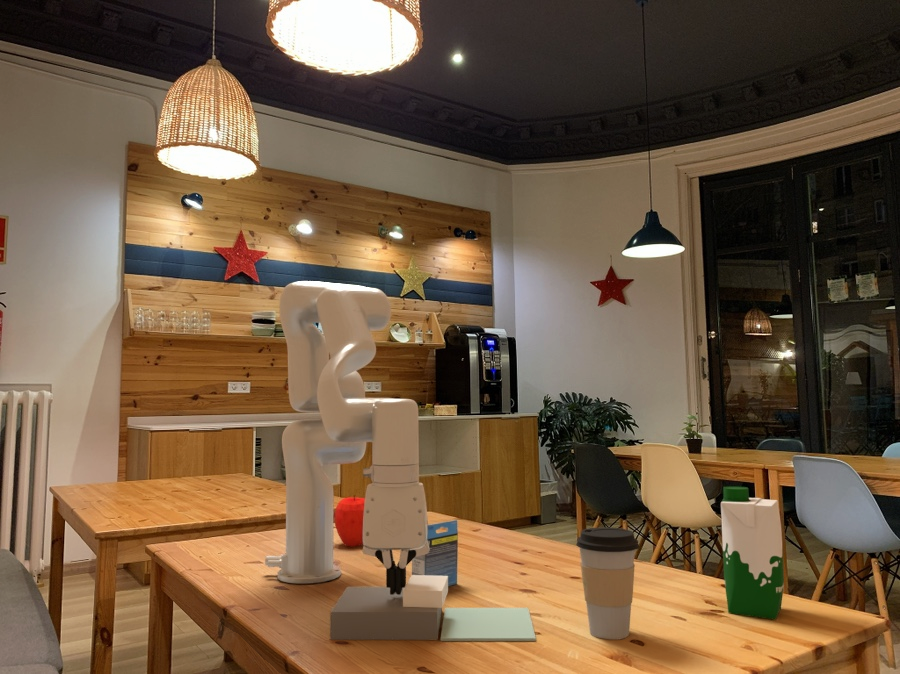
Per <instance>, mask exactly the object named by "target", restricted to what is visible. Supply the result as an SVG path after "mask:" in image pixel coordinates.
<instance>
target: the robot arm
mask: <svg viewBox="0 0 900 674" xmlns="http://www.w3.org/2000/svg"><path fill="white" fill-rule="evenodd" d="M278 304H279V305H278V307H279V318H280V324H281V328H282V331H283V334H284V337H285V341H286V347H287V377H288V379H287V382H288V399H289V404H290V406H291V408H292V409H293V410H294V411H296V412H300V413H313V414H314V413H318V414H320V417H321V418H308V419H299V420H296V421H293V422H291V423H289V424H288V425H287V426H286V427H285V428H284V430H283V432H282V436H281V447H282V455H283V459H284V460H283V462H284V467H285V468H284V469H285V491H286V492H285V496H286V497H285V502H286V503H285V552H284V553H281V554H280V555H266V556H265V559H264V564H265V566H267V568H268V567H269V568H276V567H279V569H280V570H278V571H277V580H279V581H280V582H284V583H287V584H288V583H289V584H301V585H302V584H307V585H308V584H318V583H324V582H328V581H332V580H335V579H337V578H339V577H340V576H341V575H342V568H341V567H340V566H338V565H335V564H334V516H335V509H334V502H335V501H334V500H335V499H334V496H335V495H334V487H333V483H332V480H331V479H330V477H329V476H328V475H327V474H326V472H325V470H324V469H323V466H333V465H345V464H354V463H357V462H359V461H361V460H362V459H363V458H364V455H365V453H366V449H367V443H372V444H371V445H372V446H371V447H372V449H371V451H372V455H371V461H372V464H371V465H370V467H368V468H366V467H365V468H363V471H362V472H363V473H362V475H363V477H366V478H370V480H371V482H372V483H369V484H367V485H366V491H365V494H364V495H365V496H364V498H365V503H364V516H363V544H362V545H363V547H362V551H361V552H362V554H363V555H366V556H370V557H375V558H377V560H378V561H379V562H380V563H381V564H382V565H383V567H384V568H385V569H386V570H385V574H386V580H385V584H386V586H385V587H387V588H390V595H394V594H395V592H396V594H397V595H400V594H401V592H402V588H405V586H406V584H407V566H408V565H409V564H410V563H412V559H413V558H414V557H417V556H421V555H425V554H428V553H429V550H430V548H429V544H428V540H427V537H428V525H429V523H428V511H427V500H426V499H427V498H426V493H425V487H424V483H422V482H420V467H419V466H420V462H419V461H420V459H419V458H420V456H419V455H420V453H419V452H420V451H419V447H420V446H419V436H420V433H419V406H418V403H417V402H416V401H415V400H414V399H409V398H392V397H366V390H365V384H364V381H363V379H362V376H361V374H360V373H359V372H358V371H359V370H361V369H363V368H364V367H366V366H367V365H368V364H370V363H371V362H372V361H373V359H374V358H375V356H376V353H377V347H376V346H377V345H376V342H375V339H374V337H373V334H372V331H373V332H374V331H375V332H376V331H383V330H384V329H385V328H387V327H388V325H389V323H390V321H391V317H392V306H391V303H390V300H389V298H388V296H387V294H386V293H384V291H383V290H381V289H379V288H377V287H368V286H367V287H366V286H363V285H357V284H346V283H334V282H326V281H325V282H324V281H313V280H312V281H311V280H309V281H308V280H301V281H300V280H299V281H294V282H291V283H288V284H287V285H286V286H285V287H284V288H283V289H282V292H281V295H280V298H279V303H278ZM314 323H315V324H314ZM316 323H317V324H320V325H321V330H322V332H321V331H320V329H319V328H318V327H317V326H316ZM393 550H394V551H395V550H396V551H397V550H398V551H400V552H399V558H398V559H399V561H398V562H397V564H396V561H395V560H394V555H393Z"/></svg>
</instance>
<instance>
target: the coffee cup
mask: <svg viewBox="0 0 900 674" xmlns="http://www.w3.org/2000/svg"><path fill="white" fill-rule="evenodd" d="M575 545H576V547H577V548H579V552H580V553H579V554H580V569H581V579H582V586H583V587H582V588H583V594H584V601H585V604H586V610H587V618H588V619H587V620H588V625H589V626H588V627H589V632H590V634H591V635H592V636H593V637H595V638H599V639H603V640H604V639H605V640H623V639H626V638H627V637H629V635H630V627H631V626H630V625H631V610H632V603H633V597H634V596H633V595H634V582H635V581H634V580H635V566H636V565H635V562H634V561H635V551H636V550H638V549H639V548H640V544H639V540H638V539H637V538H635V534H634V531H632V530H629V529H625V528H621V527H620V528H618V527H609V526H608V527H605V526H604V527H589V528H585V529H582V530H581V531H580V536H578V537H577V538H576V543H575Z"/></svg>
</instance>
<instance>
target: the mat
mask: <svg viewBox="0 0 900 674" xmlns="http://www.w3.org/2000/svg"><path fill="white" fill-rule="evenodd" d="M443 613H444V614H443V620H442V625H441V632H440V641H441V642H536V641H537V638H536V634H535V633H536V632H535V629H534V625H533V621H532V618H531V613H530V610H529V607H444V612H443Z"/></svg>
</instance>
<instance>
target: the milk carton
mask: <svg viewBox="0 0 900 674" xmlns="http://www.w3.org/2000/svg"><path fill="white" fill-rule="evenodd" d="M722 491H723V499H721V500H722V501H721V502H720V513H721V514H720V515H721V516H720V517H721V538H722V539H721V540H722V541H721V542H722V559H723V579H724V588H725V596H726V604H727V612H728V614H732V615H733V614H734V615H740V616H747V617H753V618H760V619H768V620H774V621H775V620H776V619H777V617H778V615H779V613H780V611H781V609H782V603H783V597H784V596H783V593H784V587H785V574H784V573H785V572H784V554H783V553H784V552H783V534H782V531H783V530H782V523H781V516H780V508H779V500H777V499H765V498H763V499H762V498H761V497H750V493H749V488H748V487H746V486H738V485H737V486H735V485H734V486H732V485H730V486H723V490H722Z"/></svg>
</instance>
